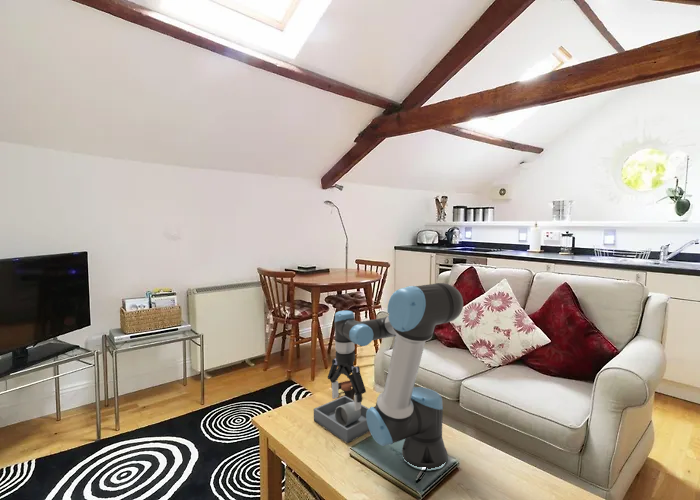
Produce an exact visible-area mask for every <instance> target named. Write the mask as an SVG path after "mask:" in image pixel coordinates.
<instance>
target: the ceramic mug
mask: <svg viewBox="0 0 700 500" xmlns="http://www.w3.org/2000/svg"><path fill="white" fill-rule="evenodd" d="M360 417H361V409H359V410H357V411H355V402H349V403H347V404H344V405H341V406H338V407H337V408H336V410H335V418H336V420H337V422H338V423H340V424H341V425H343V426H344V427H345V426H347V425H349V424H351V423H353V422H355V421H357V420H358V419H359V418H360Z"/></svg>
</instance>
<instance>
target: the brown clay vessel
mask: <svg viewBox="0 0 700 500" xmlns="http://www.w3.org/2000/svg"><path fill="white" fill-rule="evenodd" d="M339 390H341V392H342V391H343V393H344V395H341V396H340V397H343V396H347V397H348V398H350V399H352V400H355V399H354V394H355V393H356V392H355V390H354V388H353V386H352V384H351V382H350V380H344V381H341V382H338V391H339Z"/></svg>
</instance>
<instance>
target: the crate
mask: <svg viewBox="0 0 700 500" xmlns="http://www.w3.org/2000/svg"><path fill="white" fill-rule="evenodd" d="M342 396H343V397H341V396H340V397H337V398H335V399H333V400H332V401H329V402H326V403H324V404H321V405H319V406H317V407H315V408H313V422H315V423H317V424H318V425H319V426H321V427H322V428H324V429H325V430H327V431H328V432H330V433H332V434H333V435H334V436H336V437H337V438H338V439H340V440H342V442H344V443H346V444H348V443H350V442H352V441H354V440H356V439H358V438H360V437H362V436H364V435H366V434H367V433H370V431H369V428H368V425H367V420H366V412H367V410H368V409H369V407H367V406H365V405H363V404H361V417H360V418H359V419H358V420H357V421H355V422H353V423H351V424H349V425H347V426H345V427H344V426H343V425H341V424H340V423H338V422H337V420H336V418H335V410H336V408H337V407H338V406H341V405H344V404H347V403H349V402H355V399H350V398H348V397H347V396H344V395H342Z"/></svg>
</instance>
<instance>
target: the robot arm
mask: <svg viewBox="0 0 700 500" xmlns="http://www.w3.org/2000/svg"><path fill="white" fill-rule="evenodd" d="M463 299H464V298H463V296H462V293H461V292H460V291H459V289H457V287H455V286H453V285H452V284H449V283H444V282H436V283H430V284H424V285H423V284H422V285H409V286H406V287H401V288H399V289H397V290H395V291H394V292H393V293H392V294H391V295H390V297H389V300H388V302H387V314H388V315H387V316H384V317H380V318H374V319H368V320H363V321H357V320H355V314H354V312H353V311H352V310H339V311H337V312H335V313H334V314H335V315H334V321H333V322H334V339H335V342H334V343H335V345H334V346H335V347H334V348H335V358H333V359H332V360H331V366H330V370H329V372H328V375H327V379H328V380H329V381H330V382H331V395H332V397H331V398H332V399H333V400H336V399H338V398H340V397H339V395H340V394H339V390H338V383H339V381H338V379H339V377H340V376H341V375H344V376H345V377H347V379H349V380H348V381H350V382H351V384H352V386H353V388H354V390H355V392H356V393H355V394H354V399H353V400H354V401H355V411H357V410H359V409H361V405H362V401H363V394H365V393H367V390H366V386H365V383H364V380H363V377H362V374H361V369H360V366H359V365H358V366H355V365H354V362H355V361H356V360H355V359H356V352H355V348H356V347H355V345H357V346H361V347H366V346H369V344H370V343H372V341H376V340H381V339H387V338H394V337H395V338H394V342H393V346H392V347H393V348H392V352H391V356H390V362H389V365H388V369H387V375H386V381H385V384H384V388H383V391H382V392H380V393H379V395H378V396H377V399H376V402H375V405H374V406H370V408H369V407H368V408H369V409H368V410H367V412H366V420H367V425H368V428H369V433H370V434H371V437H372V438H373V439H374V441H375V442H376V444H378V445H380V446H382V447H383V446H389V445H393V444H395V443H397V442H400V441H403V440H404V441H403V444H402V447H401V448H402V449H401V456H402V455H403V457H404V459H405V460H406V461H407V462H409V463H410V464H412V465H414V466H417V467H426V468H428V469H431V468H435V467H439V466H441V465H442V464H444V463H445V462H446V460H447V461H448V451H447V448H446V447H445V442H444V439H443V417H444V415H443V412H444V411H443V410H444V407H443V398H442V396H441V394H440V393H438V392H437V391H435V390H433V389H430V388H428V387H421V386H415V383H416V381H417V377H418V371H419V368H420V365H421V361H422V358H423V357H422V356H423V353H424V350H425V349H424V348H425V344H426V342H427V341H430V340H431V339H432V337H433V335H434V330H435V328H436V326H437V325H443V324H448V323H451V322H453V321H454V320H456V319H457V318H458V317H459V316H460V315H461V313H462V311H463V308H464V300H463Z"/></svg>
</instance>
